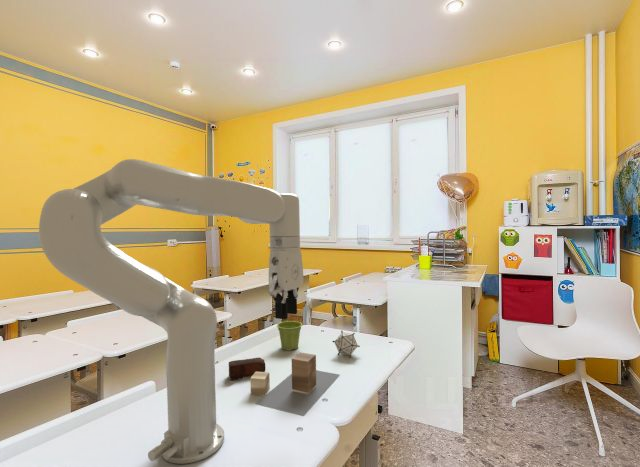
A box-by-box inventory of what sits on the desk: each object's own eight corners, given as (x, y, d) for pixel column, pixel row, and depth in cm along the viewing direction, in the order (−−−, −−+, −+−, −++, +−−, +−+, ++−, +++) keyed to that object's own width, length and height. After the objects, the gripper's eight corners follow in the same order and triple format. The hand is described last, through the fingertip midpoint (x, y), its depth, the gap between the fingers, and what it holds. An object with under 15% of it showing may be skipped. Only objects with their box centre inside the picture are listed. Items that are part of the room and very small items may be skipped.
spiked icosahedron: (351, 364, 121) (368, 342, 120) (340, 364, 114) (358, 340, 114) (335, 346, 126) (351, 325, 126) (323, 345, 120) (340, 322, 119)
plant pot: (281, 342, 134) (281, 320, 134) (305, 343, 132) (304, 321, 132) (273, 351, 125) (273, 327, 125) (298, 352, 123) (298, 328, 123)
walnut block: (308, 394, 92) (307, 361, 92) (292, 391, 94) (291, 358, 94) (316, 386, 97) (315, 354, 96) (300, 383, 99) (300, 352, 99)
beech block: (265, 397, 92) (264, 378, 92) (250, 396, 93) (250, 377, 93) (269, 390, 96) (269, 372, 96) (256, 389, 97) (255, 371, 97)
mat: (303, 417, 82) (303, 415, 82) (255, 405, 88) (255, 403, 88) (340, 375, 104) (340, 374, 104) (299, 368, 110) (299, 367, 110)
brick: (230, 381, 102) (229, 366, 102) (228, 376, 105) (228, 361, 105) (265, 375, 106) (265, 360, 105) (263, 370, 109) (262, 355, 109)
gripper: (280, 246, 77) (282, 327, 77) (313, 241, 92) (314, 309, 93) (252, 245, 80) (254, 323, 81) (288, 241, 95) (289, 307, 96)
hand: (286, 315), depth 87 cm, fingers open, 4 cm apart
